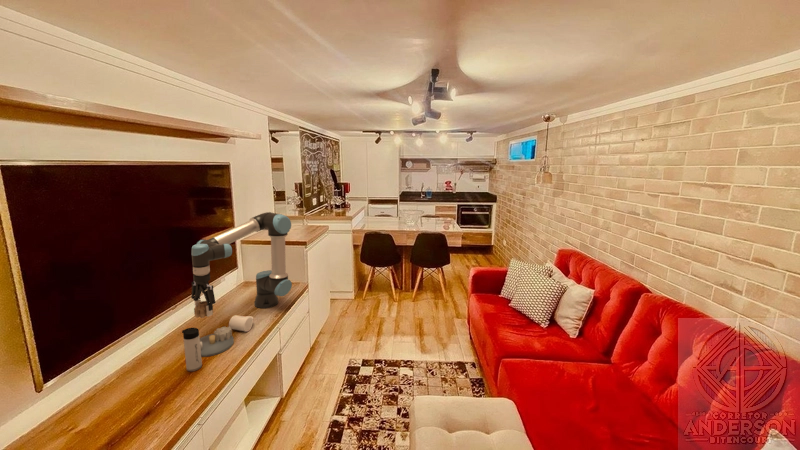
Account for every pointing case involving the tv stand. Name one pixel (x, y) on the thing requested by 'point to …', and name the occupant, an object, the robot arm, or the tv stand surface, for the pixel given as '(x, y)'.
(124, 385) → the tv stand surface
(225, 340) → the carrier
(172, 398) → the tv stand surface
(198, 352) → the travel mug
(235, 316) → the mug
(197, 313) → the oak gear
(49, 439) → the tv stand surface
